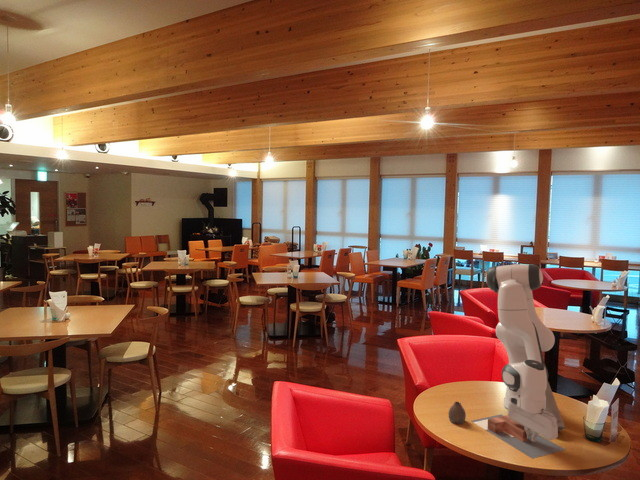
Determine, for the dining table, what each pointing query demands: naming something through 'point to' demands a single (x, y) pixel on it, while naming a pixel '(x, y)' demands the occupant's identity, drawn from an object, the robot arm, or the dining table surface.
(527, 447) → the board
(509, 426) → the t block
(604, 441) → the dining table surface
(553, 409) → the thermos bottle
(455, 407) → the vase
